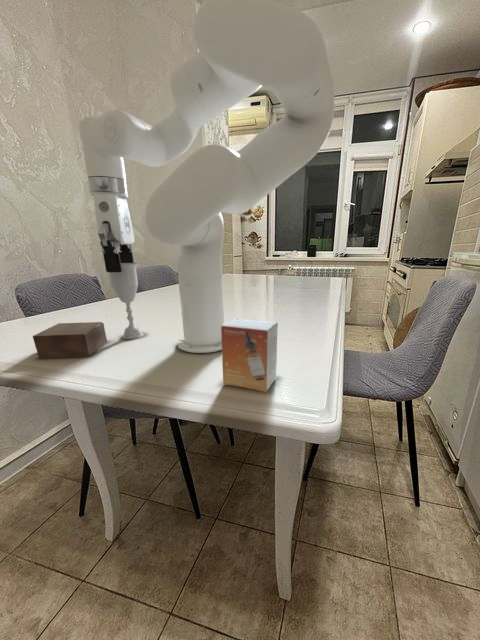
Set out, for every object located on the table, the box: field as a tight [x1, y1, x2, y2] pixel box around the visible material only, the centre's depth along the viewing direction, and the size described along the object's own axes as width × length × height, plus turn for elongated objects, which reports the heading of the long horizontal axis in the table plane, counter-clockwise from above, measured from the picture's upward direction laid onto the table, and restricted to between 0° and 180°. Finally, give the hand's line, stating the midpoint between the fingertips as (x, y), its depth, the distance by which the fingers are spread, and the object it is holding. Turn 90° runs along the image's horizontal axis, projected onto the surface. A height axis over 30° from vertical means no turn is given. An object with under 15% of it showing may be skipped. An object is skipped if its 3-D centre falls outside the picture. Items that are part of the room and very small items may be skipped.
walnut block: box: [32, 321, 108, 360], centre depth 65 cm, size 10×10×5 cm
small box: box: [221, 317, 279, 393], centre depth 49 cm, size 8×6×10 cm
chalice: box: [108, 262, 145, 340], centre depth 72 cm, size 7×7×18 cm
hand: (121, 270), depth 70 cm, fingers open, 9 cm apart
